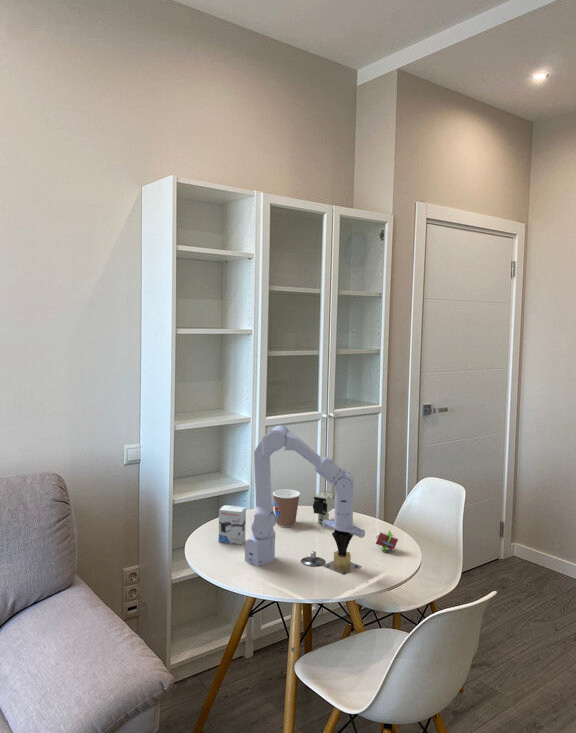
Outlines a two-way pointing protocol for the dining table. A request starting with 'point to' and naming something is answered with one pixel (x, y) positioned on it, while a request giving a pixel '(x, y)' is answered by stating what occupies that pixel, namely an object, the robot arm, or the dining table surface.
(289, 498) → the coffee cup
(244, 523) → the ink box
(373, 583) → the dining table surface
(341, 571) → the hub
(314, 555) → the stand
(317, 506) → the pneumatic valve
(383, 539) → the geometric puzzle
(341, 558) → the brass collar
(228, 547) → the dining table surface
